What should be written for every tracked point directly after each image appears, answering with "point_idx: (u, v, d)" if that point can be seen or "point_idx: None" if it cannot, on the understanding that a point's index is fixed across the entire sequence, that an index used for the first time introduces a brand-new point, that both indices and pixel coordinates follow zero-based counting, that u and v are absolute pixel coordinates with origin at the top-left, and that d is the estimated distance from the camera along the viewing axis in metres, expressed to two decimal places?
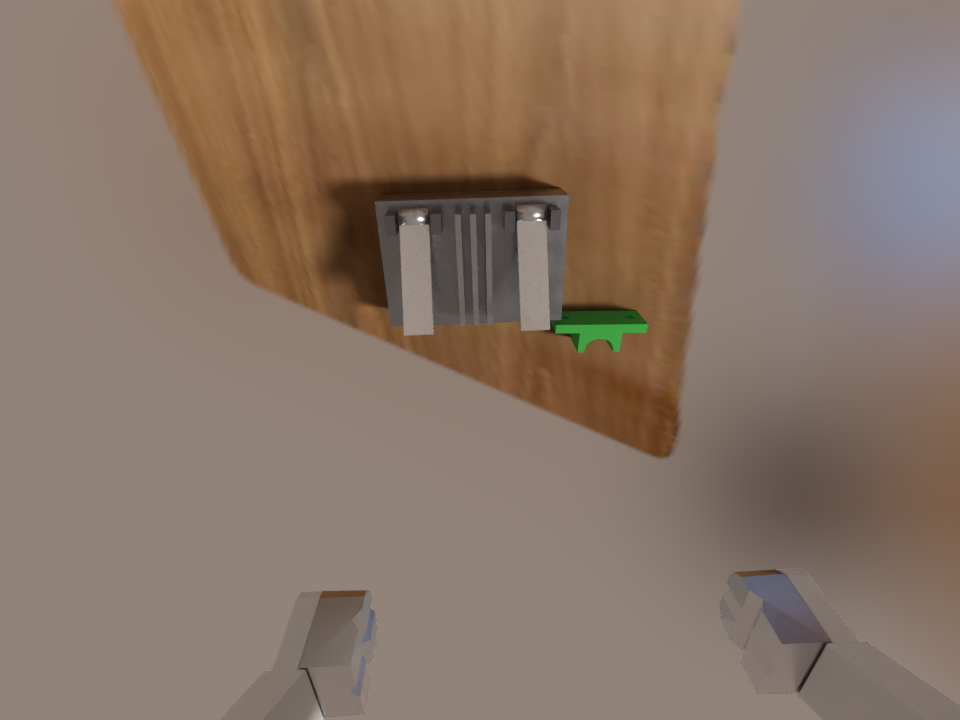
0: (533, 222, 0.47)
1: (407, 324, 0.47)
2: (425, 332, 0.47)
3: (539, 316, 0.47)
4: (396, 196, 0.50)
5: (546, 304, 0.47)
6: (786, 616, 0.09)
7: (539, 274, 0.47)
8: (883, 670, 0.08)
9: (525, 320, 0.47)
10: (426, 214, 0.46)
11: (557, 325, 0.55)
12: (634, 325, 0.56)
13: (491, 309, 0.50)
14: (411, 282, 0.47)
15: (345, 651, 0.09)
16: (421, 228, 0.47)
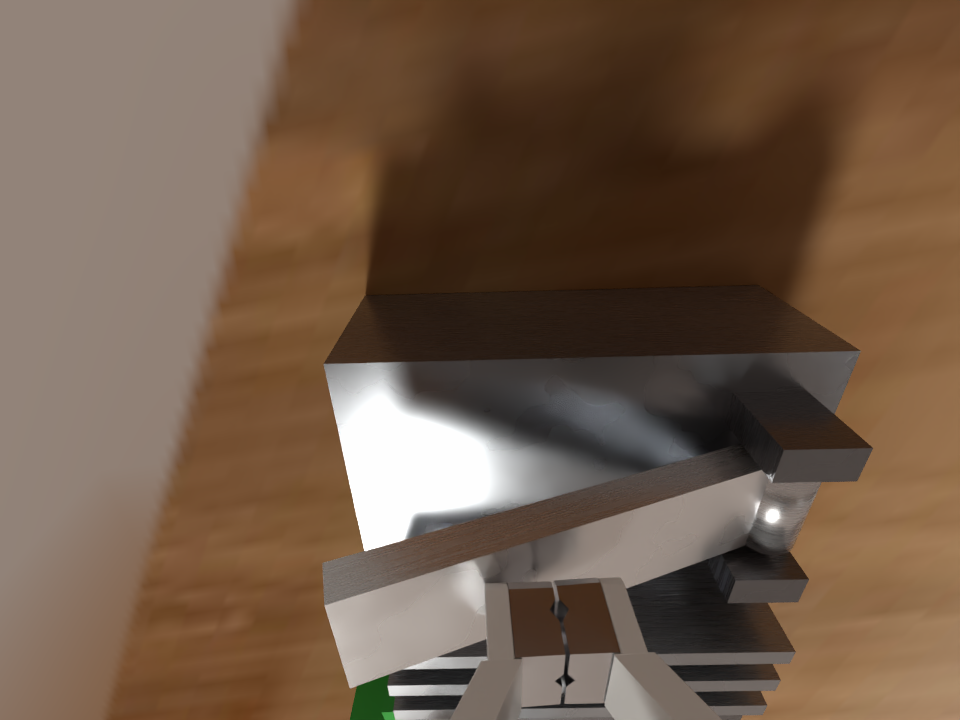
0: None
1: (383, 600, 0.09)
2: (353, 667, 0.10)
3: None
4: None
5: None
6: (585, 626, 0.09)
7: None
8: (658, 681, 0.08)
9: None
10: (787, 549, 0.13)
11: None
12: None
13: None
14: (568, 557, 0.11)
15: (554, 641, 0.09)
16: (742, 529, 0.13)
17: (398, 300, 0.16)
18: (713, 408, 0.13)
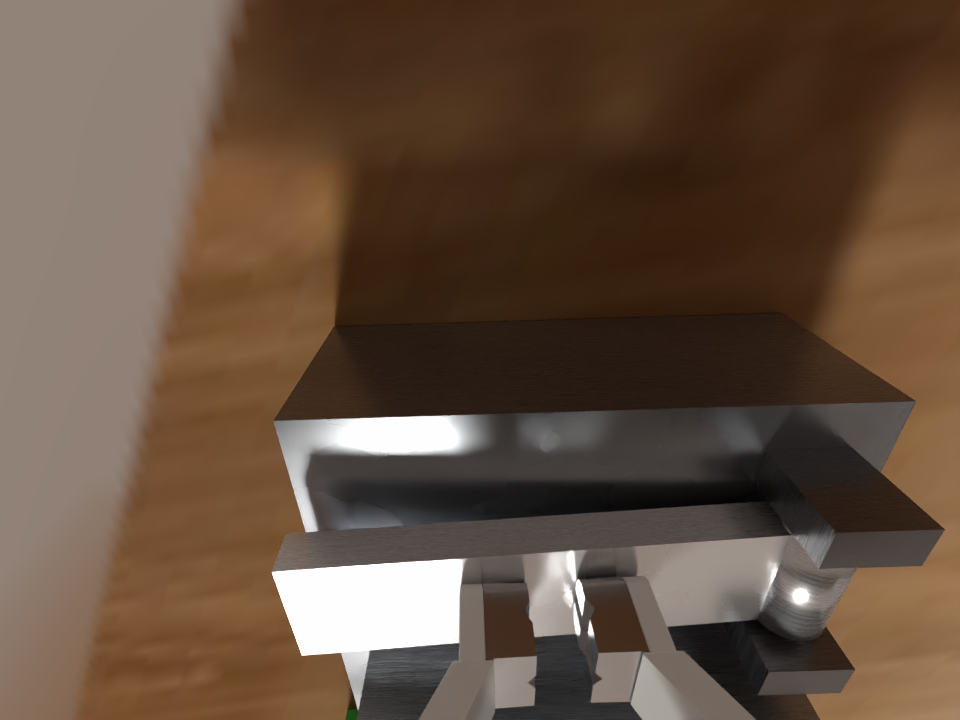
0: None
1: (327, 580, 0.10)
2: (302, 636, 0.11)
3: None
4: None
5: None
6: (612, 624, 0.09)
7: None
8: (688, 679, 0.08)
9: None
10: (809, 636, 0.11)
11: None
12: None
13: None
14: None
15: (526, 642, 0.09)
16: (751, 600, 0.11)
17: (371, 333, 0.14)
18: (740, 466, 0.11)
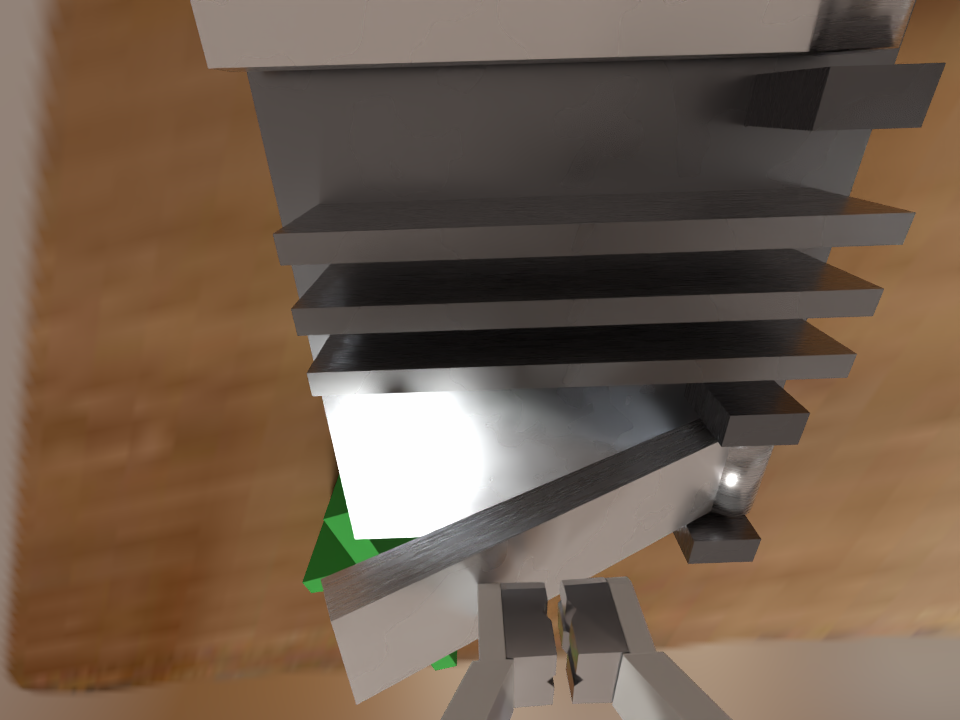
0: (717, 481, 0.14)
1: None
2: (204, 13, 0.08)
3: (413, 644, 0.10)
4: None
5: (462, 639, 0.11)
6: (593, 625, 0.09)
7: (571, 566, 0.12)
8: (667, 681, 0.08)
9: (387, 611, 0.09)
10: (882, 34, 0.08)
11: None
12: None
13: (396, 388, 0.10)
14: None
15: (546, 641, 0.09)
16: None
17: None
18: None
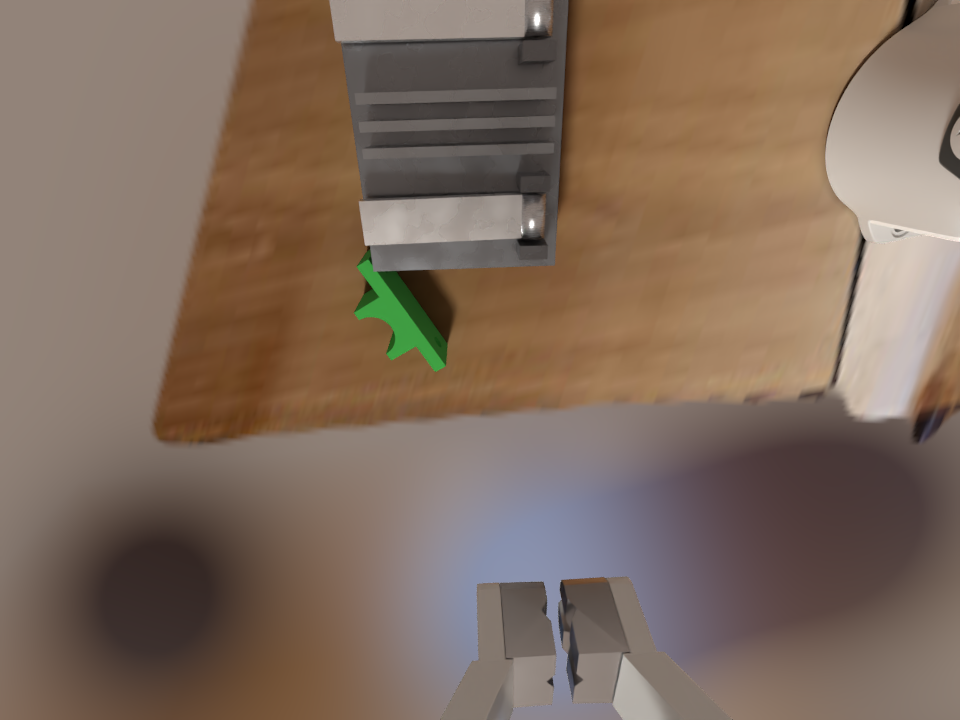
0: (519, 219, 0.33)
1: None
2: (336, 24, 0.27)
3: (383, 229, 0.32)
4: None
5: (401, 239, 0.33)
6: (593, 625, 0.09)
7: (445, 229, 0.33)
8: (668, 680, 0.08)
9: (375, 208, 0.32)
10: (540, 31, 0.27)
11: (368, 261, 0.36)
12: (434, 352, 0.40)
13: (393, 156, 0.29)
14: None
15: (545, 641, 0.09)
16: (519, 20, 0.27)
17: None
18: None
